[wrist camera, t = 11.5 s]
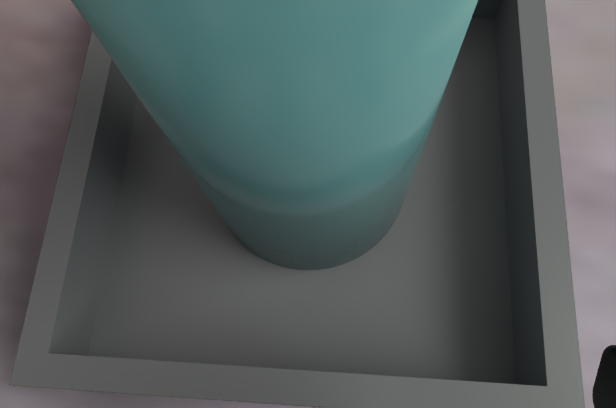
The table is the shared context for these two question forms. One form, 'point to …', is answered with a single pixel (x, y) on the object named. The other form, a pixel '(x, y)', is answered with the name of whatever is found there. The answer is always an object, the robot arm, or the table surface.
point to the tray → (327, 282)
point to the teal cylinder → (291, 108)
